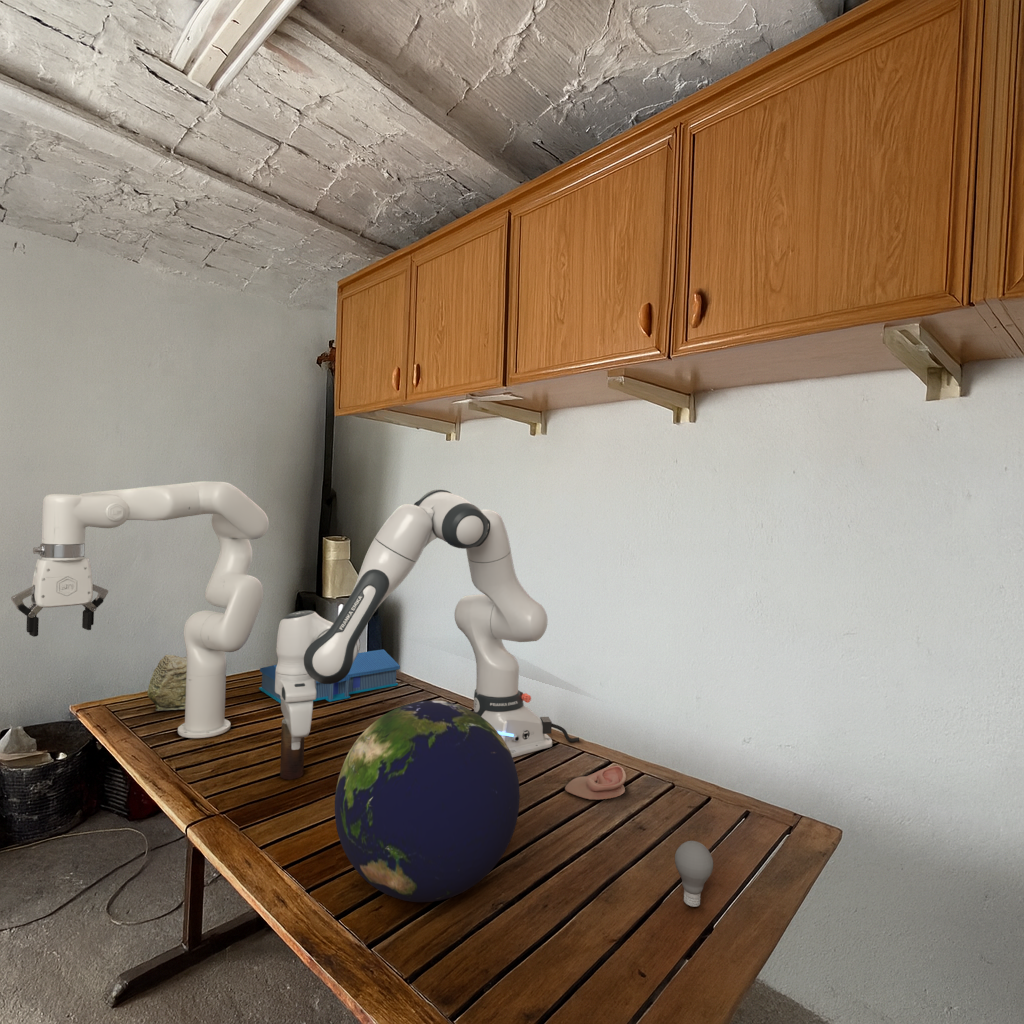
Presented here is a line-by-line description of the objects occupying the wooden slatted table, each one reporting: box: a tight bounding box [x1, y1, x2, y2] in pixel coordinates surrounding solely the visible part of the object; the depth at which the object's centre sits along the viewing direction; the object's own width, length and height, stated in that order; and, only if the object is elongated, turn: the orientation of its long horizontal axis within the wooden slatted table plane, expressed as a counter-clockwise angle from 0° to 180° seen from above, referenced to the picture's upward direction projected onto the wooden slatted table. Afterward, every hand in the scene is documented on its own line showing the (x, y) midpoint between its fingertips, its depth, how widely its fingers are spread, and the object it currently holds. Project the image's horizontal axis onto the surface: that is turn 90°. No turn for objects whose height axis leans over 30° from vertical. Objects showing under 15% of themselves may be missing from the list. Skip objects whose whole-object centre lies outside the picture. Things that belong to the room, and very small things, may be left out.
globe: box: [334, 700, 521, 903], centre depth 104 cm, size 30×30×30 cm
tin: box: [279, 718, 306, 781], centre depth 143 cm, size 5×5×12 cm
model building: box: [258, 649, 401, 704], centre depth 208 cm, size 39×24×10 cm, turn 132°
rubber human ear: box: [564, 765, 627, 801], centre depth 143 cm, size 13×4×12 cm
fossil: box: [147, 654, 187, 712], centre depth 185 cm, size 9×18×15 cm, turn 132°
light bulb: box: [674, 840, 714, 907], centre depth 103 cm, size 6×6×10 cm
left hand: (60, 632), depth 135 cm, fingers open, 9 cm apart
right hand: (293, 743), depth 143 cm, fingers closed on tin, 5 cm apart
